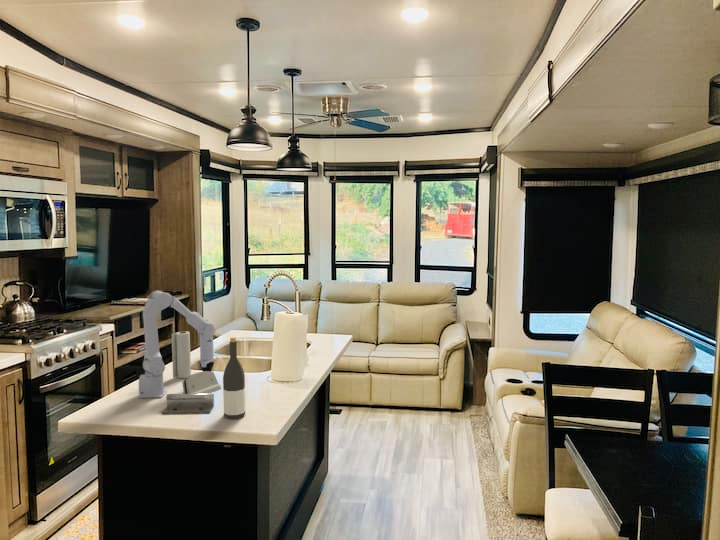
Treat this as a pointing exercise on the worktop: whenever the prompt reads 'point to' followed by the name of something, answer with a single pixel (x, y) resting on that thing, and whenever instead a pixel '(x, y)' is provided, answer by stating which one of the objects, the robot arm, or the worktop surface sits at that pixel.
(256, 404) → the worktop surface
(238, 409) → the wine bottle
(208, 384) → the beige piece
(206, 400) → the fixed leaf
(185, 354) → the paper towel roll
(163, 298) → the robot arm
